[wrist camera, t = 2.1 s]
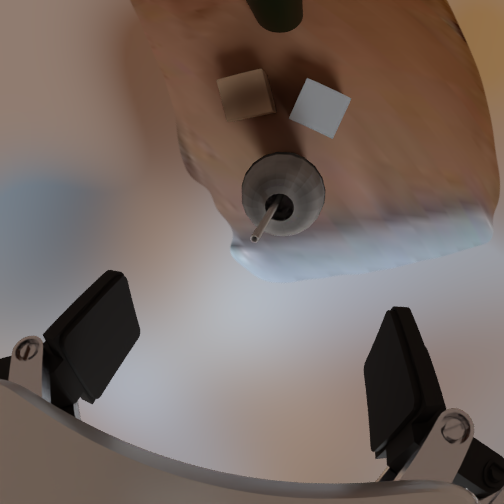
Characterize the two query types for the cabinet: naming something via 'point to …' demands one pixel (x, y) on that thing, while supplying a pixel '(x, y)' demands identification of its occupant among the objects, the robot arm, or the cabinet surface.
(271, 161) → the beverage cup
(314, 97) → the light grey cube
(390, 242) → the cabinet surface
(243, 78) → the walnut block
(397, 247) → the cabinet surface
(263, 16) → the wine bottle
